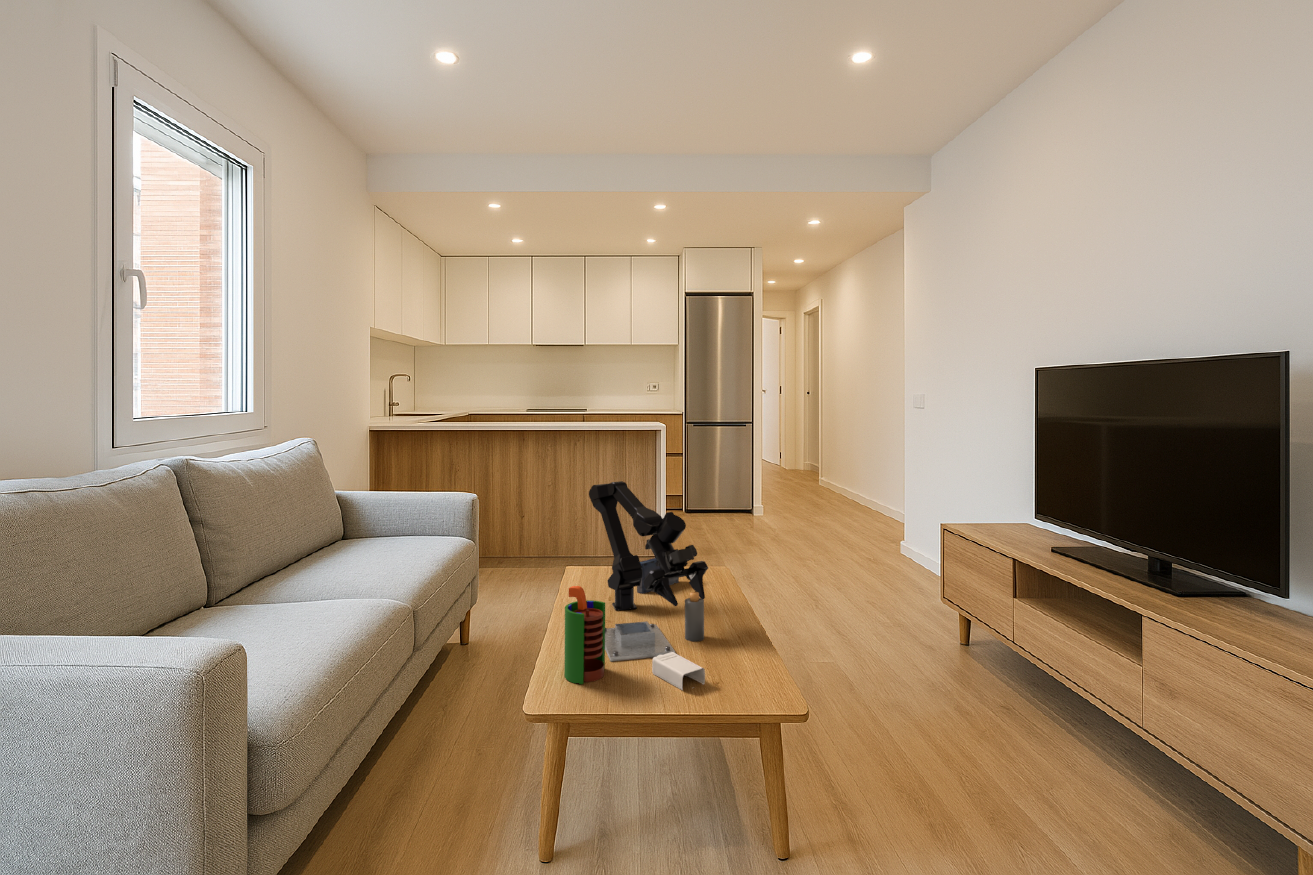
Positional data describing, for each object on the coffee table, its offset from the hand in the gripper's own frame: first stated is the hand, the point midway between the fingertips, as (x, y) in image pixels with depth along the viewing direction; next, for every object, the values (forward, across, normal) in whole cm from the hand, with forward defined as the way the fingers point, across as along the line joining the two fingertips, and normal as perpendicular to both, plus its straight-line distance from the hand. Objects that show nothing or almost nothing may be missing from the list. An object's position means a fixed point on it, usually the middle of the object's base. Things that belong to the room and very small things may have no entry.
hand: (690, 602), depth 173 cm
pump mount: (+3, -15, +10) cm, 18 cm away
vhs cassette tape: (-23, +21, +36) cm, 47 cm away
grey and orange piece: (+8, 0, +5) cm, 9 cm away
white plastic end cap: (+20, -19, -6) cm, 28 cm away
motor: (+10, -35, +4) cm, 36 cm away
